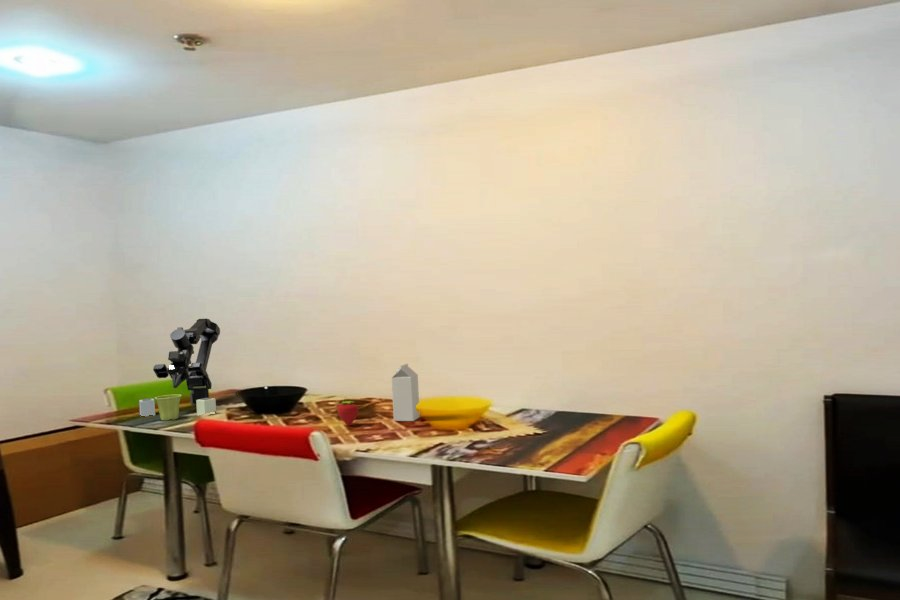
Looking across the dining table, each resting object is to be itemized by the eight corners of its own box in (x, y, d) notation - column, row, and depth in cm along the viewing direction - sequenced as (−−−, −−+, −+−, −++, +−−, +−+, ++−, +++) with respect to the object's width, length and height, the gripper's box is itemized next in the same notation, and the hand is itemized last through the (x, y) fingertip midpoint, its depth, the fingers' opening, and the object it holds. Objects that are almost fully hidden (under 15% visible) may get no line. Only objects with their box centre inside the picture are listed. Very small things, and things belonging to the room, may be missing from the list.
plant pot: (150, 421, 253) (149, 398, 253) (166, 416, 262) (165, 394, 262) (172, 421, 250) (171, 398, 250) (187, 416, 260) (186, 394, 259)
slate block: (153, 413, 271) (152, 397, 271) (155, 415, 266) (154, 399, 266) (140, 415, 268) (139, 399, 268) (141, 417, 264) (140, 400, 264)
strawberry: (352, 428, 223) (351, 398, 223) (334, 427, 227) (332, 397, 226) (363, 424, 229) (361, 395, 228) (344, 423, 232) (343, 394, 232)
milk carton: (419, 417, 237) (417, 363, 236) (413, 421, 230) (410, 365, 230) (400, 417, 239) (398, 363, 238) (393, 421, 232) (390, 365, 232)
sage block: (208, 413, 266) (207, 397, 266) (216, 414, 263) (215, 397, 263) (197, 415, 262) (196, 399, 261) (204, 416, 259) (204, 400, 259)
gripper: (153, 344, 267) (143, 376, 257) (201, 342, 268) (192, 373, 257) (162, 361, 275) (153, 393, 265) (209, 359, 276) (201, 391, 265)
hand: (174, 387), depth 263 cm, fingers closed
